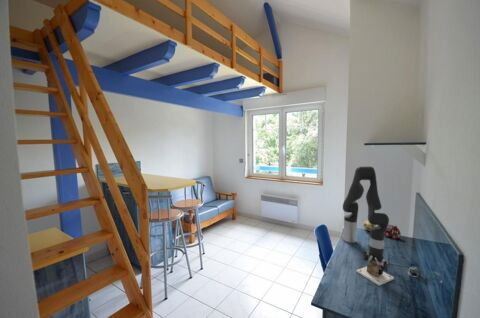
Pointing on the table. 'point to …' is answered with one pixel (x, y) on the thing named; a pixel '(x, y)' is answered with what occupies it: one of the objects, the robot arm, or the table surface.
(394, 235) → the toy fire truck
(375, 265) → the walnut cap block
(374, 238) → the robot arm
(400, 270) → the table surface
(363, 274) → the base plate
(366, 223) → the beige lumpy ball
